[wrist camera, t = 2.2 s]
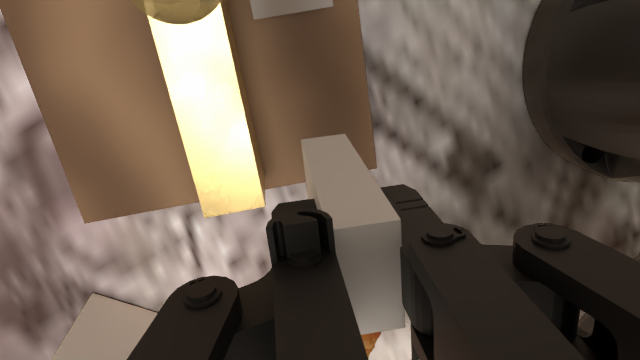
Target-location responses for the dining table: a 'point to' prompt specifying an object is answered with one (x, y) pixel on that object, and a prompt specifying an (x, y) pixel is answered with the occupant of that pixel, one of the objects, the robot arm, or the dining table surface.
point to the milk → (105, 330)
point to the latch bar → (209, 101)
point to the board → (155, 103)
